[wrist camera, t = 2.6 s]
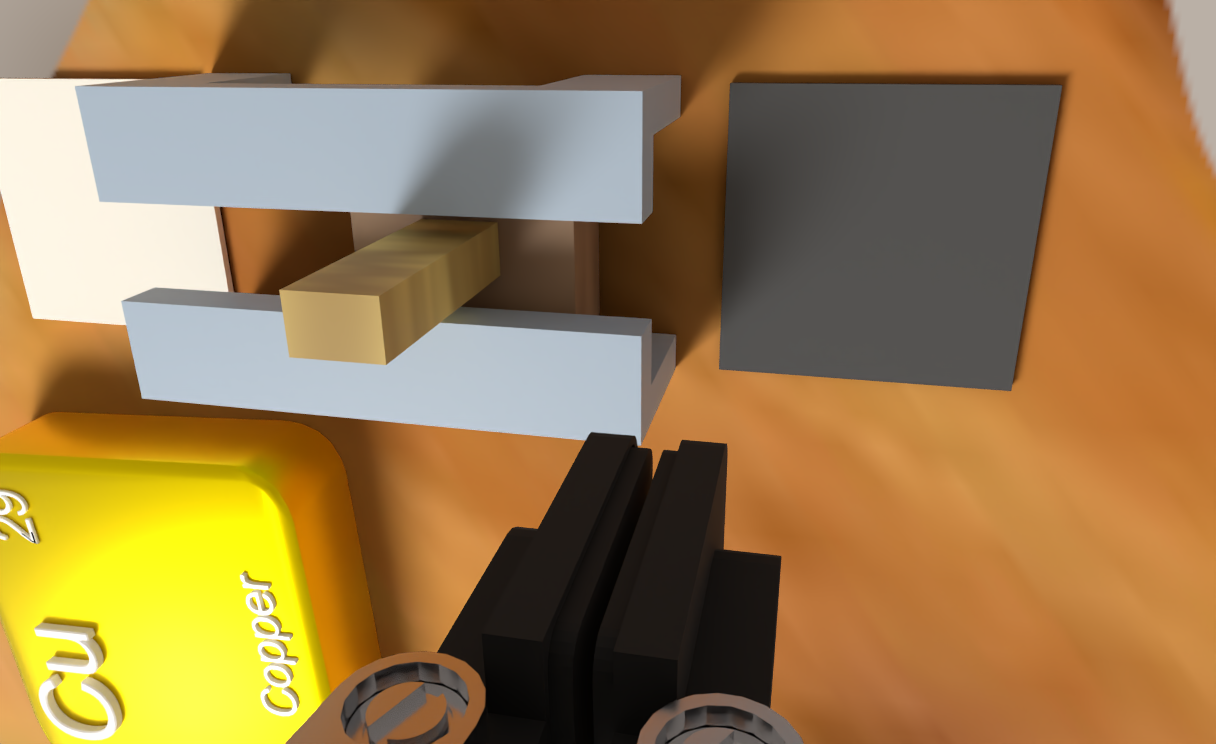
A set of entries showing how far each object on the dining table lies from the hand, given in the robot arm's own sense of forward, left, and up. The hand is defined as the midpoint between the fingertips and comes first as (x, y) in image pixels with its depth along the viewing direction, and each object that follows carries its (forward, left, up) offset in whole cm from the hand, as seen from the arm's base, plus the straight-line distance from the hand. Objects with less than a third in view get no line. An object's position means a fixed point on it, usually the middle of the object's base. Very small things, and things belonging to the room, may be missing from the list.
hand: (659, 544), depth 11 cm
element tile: (+23, +16, -19) cm, 34 cm away
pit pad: (-3, 0, -19) cm, 19 cm away
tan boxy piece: (+9, 0, -19) cm, 21 cm away
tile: (+24, 0, -19) cm, 30 cm away
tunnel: (+11, 0, -19) cm, 22 cm away
